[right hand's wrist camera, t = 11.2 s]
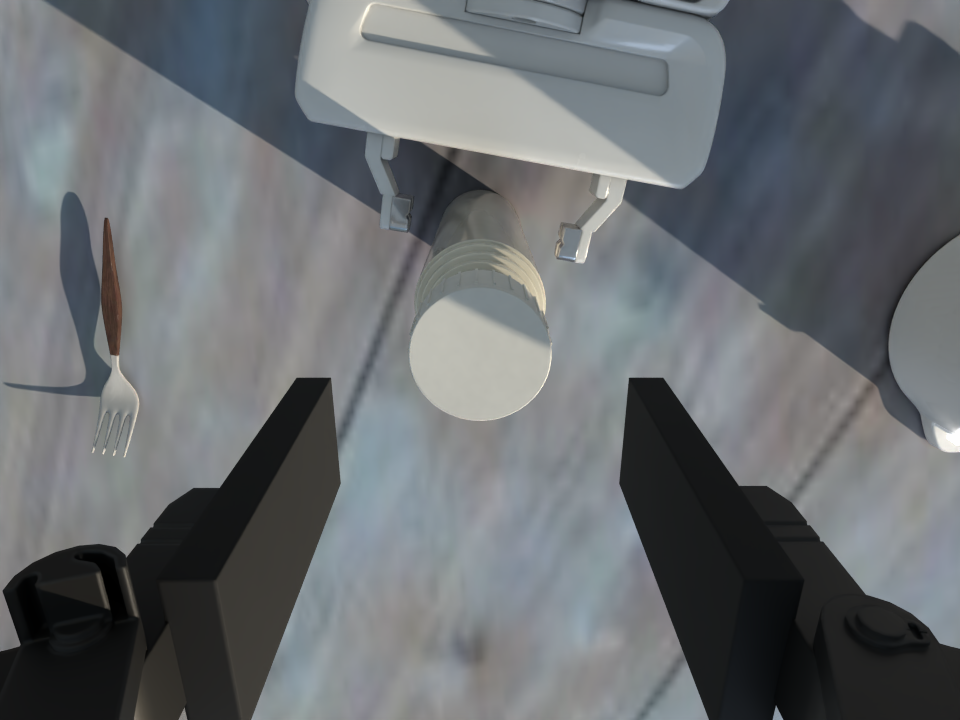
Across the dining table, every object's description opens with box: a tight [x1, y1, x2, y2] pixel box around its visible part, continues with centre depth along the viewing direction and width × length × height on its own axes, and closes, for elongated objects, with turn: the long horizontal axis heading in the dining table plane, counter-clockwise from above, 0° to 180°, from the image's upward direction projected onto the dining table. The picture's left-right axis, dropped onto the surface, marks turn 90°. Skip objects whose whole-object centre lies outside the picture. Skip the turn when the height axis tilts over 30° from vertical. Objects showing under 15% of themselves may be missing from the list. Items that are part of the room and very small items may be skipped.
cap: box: [408, 269, 552, 421], centre depth 20 cm, size 4×4×2 cm
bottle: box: [414, 190, 546, 315], centre depth 30 cm, size 5×5×22 cm
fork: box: [92, 218, 139, 457], centre depth 41 cm, size 3×16×2 cm, turn 171°
